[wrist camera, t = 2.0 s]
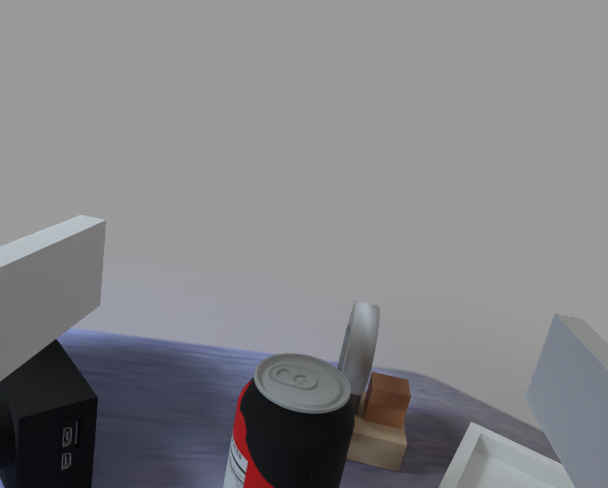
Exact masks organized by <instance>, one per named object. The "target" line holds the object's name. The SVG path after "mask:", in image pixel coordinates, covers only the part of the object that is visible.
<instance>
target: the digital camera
mask: <svg viewBox="0 0 608 488" xmlns="http://www.w3.org/2000/svg"><path fill="white" fill-rule="evenodd" d="M97 401H98V397H97V396H96V394H95V393H94V391H93V390H92V389H91V387H90V386H89V384H88V383H87V381H86V380H85V379H84V377H83V376H82V374H81V373H80V372H79V370H78V369H77V367H76V366H75V365H74V363H73V362H72V360H71V359H70V358H69V356H68V355H67V353H66V352H65V350H64V349H63V348H62V346H61V345H60V344H59V342H58V341H57V339H55V340H54V341H53V342H51V343H50V344H49V345H47V346H46V347H45V348H43V349H42V350H41V351H39V352H38V353H37V354H36V355H34V356H33V357H32V358H30V359H29V360H28V361H26V362H25V363H24V364H22V365H21V366H20V367H18V368H17V369H16V370H15V371H13V372H12V373H11V374H9V375H8V376H7V377H5V378H4V379H3V380H1V381H0V478H1V480H2V483H3V485H4V488H91V482H92V469H93V456H94V443H95V430H96V417H97Z"/></svg>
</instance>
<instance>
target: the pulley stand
mask: <svg viewBox="0 0 608 488" xmlns="http://www.w3.org/2000/svg"><path fill="white" fill-rule="evenodd" d="M379 313H380V311H379V306H376V305H371V304H367V303H362V302H358V301H355V303H354V305H353V308H352V312H351V315H350V319H349V323H348V326H347V329H346V333H345V338H344V342H343V346H342V350H341V354H340V359H339V363H338V367H337V369H338V370H340V371H341V372H342V373H343V374H344V375H345V377H346V378H347V379H348V381H349V383H350V386H351V393H350V397H349V400H350V403H351V405H352V408H353V411H354V418H355V425H354V430H353V434H352V438H351V442H350V446H349V450H348V453H347V457H346V459H347V460H351V461H355V462H359V463H364V464H368V465H372V466H376V467H381V468H385V469H389V470H393V471H397V472H399V471H400V467H401V464H402V461H403V457H404V454H405V450H406V447H407V441H406V433H405V425H404V418H405V415H406V411H407V408H408V405H409V401H410V398H411V395H410V389H409V383H408V380H405V379H401V378H396V377H392V376H388V375H383V374H379V373H374V372H372V373H371V377H370V381H369V385H368V389H367V392H366V391H365V388H366V385H367V382H368V379H369V375H370V371H371V367H372V362H373V358H374V353H375V347H376V342H377V335H378V328H379V316H380V315H379Z"/></svg>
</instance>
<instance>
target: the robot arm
mask: <svg viewBox="0 0 608 488" xmlns="http://www.w3.org/2000/svg"><path fill="white" fill-rule="evenodd" d="M105 227H106V220H103V219H98V218H93V217H88V216H84V215H80V216H77V217H75V218H72V219H69V220H67V221H64V222H62V223H59V224H57V225H54V226H51V227H49V228H46V229H44V230H41V231H39V232H36V233H34V234H31V235H28V236H26V237H23V238H21V239H18V240H16V241H13V242H10V243H8V244H5V245H3V246H0V381H1V380H3V379H4V378H5V377H7V376H8V375H9V374H11V373H12V372H13V371H15V370H16V369H17V368H18V367H20V366H21V365H22V364H24V363H25V362H26V361H28V360H29V359H30V358H32V357H33V356H34V355H36V354H37V353H38V352H39V351H41V350H42V349H43V348H45V347H46V346H47V345H49V344H50V343H51V342H53V341H54V340H55V339H56V338H58V337H59V336H60V335H62V334H63V333H64V332H66V331H67V330H68V329H70V328H71V327H72V326H74V325H75V324H76V323H77V322H79V321H80V320H81V319H83V318H84V317H85V316H87V315H88V314H89V313H90V312H92V311H93V310H94V309H96V308H97V307H98V306H100V298H101V283H102V269H103V256H104V255H103V254H104V242H105ZM525 399H526V401H527V402H528V405H529V406H530V408H531V410H532V411H533V414H534V415H535V417H536V419H537V420H538V422H539V424H540V426H541V428H542V430H543V431H544V433H545V435H546V437H547V438H548V440H549V442H550V444H551V446H552V447H553V449H554V451H555V453H556V454H557V456H558V458H559V460H560V461H561V463H562V465H563V467H564V469H565V470H566V472H567V474H568V476H569V477H570V479H571V481H572V483H573V485H574V486H575V488H608V344H607V343H606V342H605V341H604V340H603V339H602V338H601V337H600V336H599V335H598V334H597V333H596V332H595V331H594V330H593V329H592V328H591V327H590V326H589V325H588V324H586V323H585V322H584V321H583V320H582V319H578V318H573V317H568V316H563V315H558V314H555V315H554V317H553V320H552V323H551V326H550V328H549V332H548V334H547V337H546V340H545V343H544V346H543V348H542V351H541V354H540V357H539V360H538V363H537V365H536V368H535V371H534V374H533V376H532V379H531V382H530V385H529V388H528V391H527V393H526V396H525Z"/></svg>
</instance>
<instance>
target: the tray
mask: <svg viewBox="0 0 608 488" xmlns="http://www.w3.org/2000/svg"><path fill="white" fill-rule="evenodd" d="M438 488H575V486H574V485H573V483H572V481H571V479H570V477H569V476H568V474H567V472H566V470H565V469H564V467H563V465H562V464H560V463H558V462H556V461H554V460H552V459H549V458H547V457H545V456H543V455H541V454H539V453H537V452H535V451H532V450H530V449H528V448H526V447H524V446H522V445H520V444H518V443H515V442H513V441H511V440H509V439H507V438H505V437H503V436H501V435H498V434H496V433H494V432H492V431H490V430H488V429H486V428H484V427H481V426H479V425H477V424H475V423H473V422H471V423H470V425H469V427H468V429H467V431H466V433H465V435H464V437H463V439H462V441H461V443H460V445H459V447H458V449H457V451H456V453H455V455H454V457H453V459H452V461H451V463H450V465H449V467H448V469H447V471H446V473H445V475H444V477H443V479H442V481H441V483H440V485H439V487H438Z"/></svg>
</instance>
